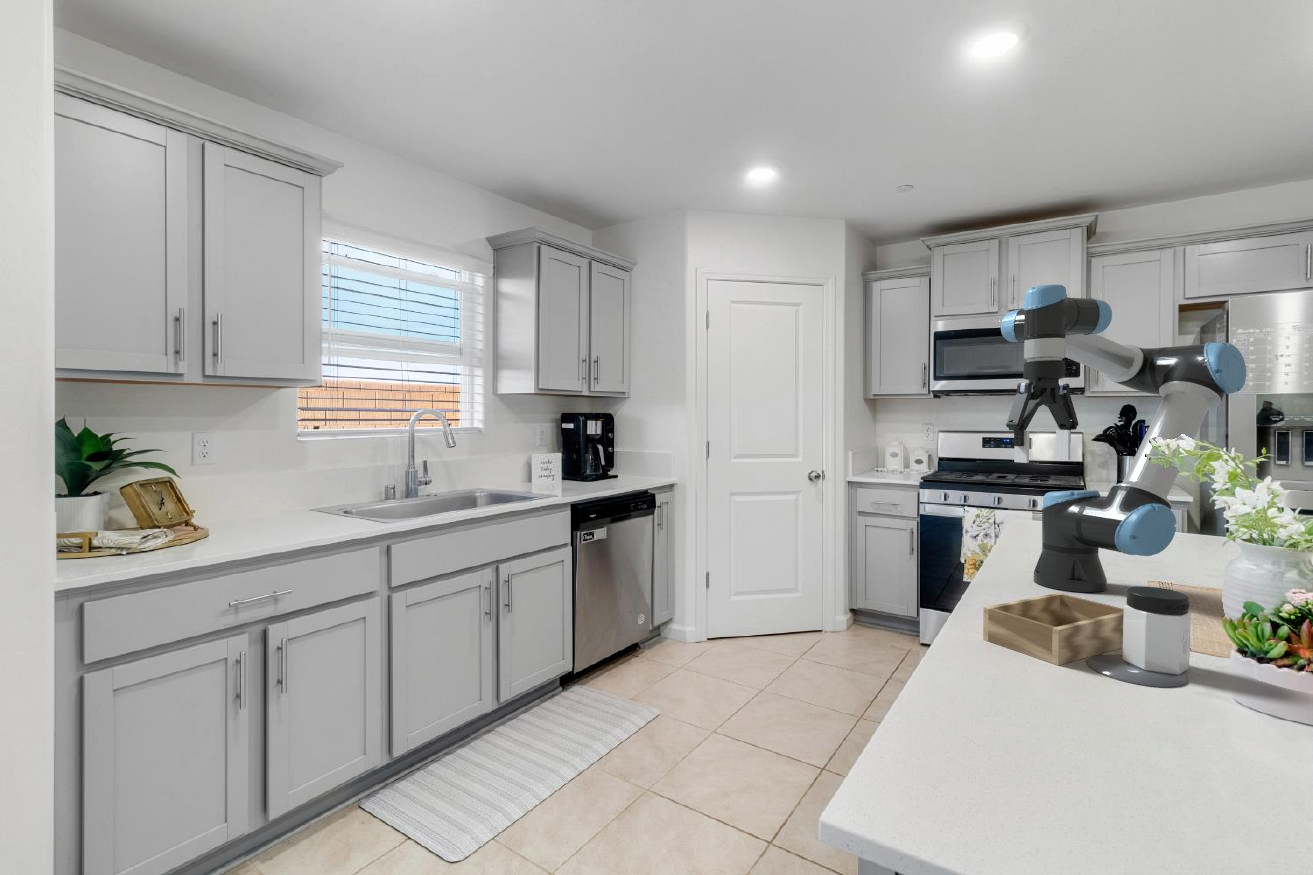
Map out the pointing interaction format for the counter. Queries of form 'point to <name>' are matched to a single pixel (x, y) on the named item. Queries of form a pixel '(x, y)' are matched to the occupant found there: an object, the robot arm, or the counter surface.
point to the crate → (1036, 636)
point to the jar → (1157, 630)
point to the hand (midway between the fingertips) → (1042, 461)
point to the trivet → (1133, 672)
